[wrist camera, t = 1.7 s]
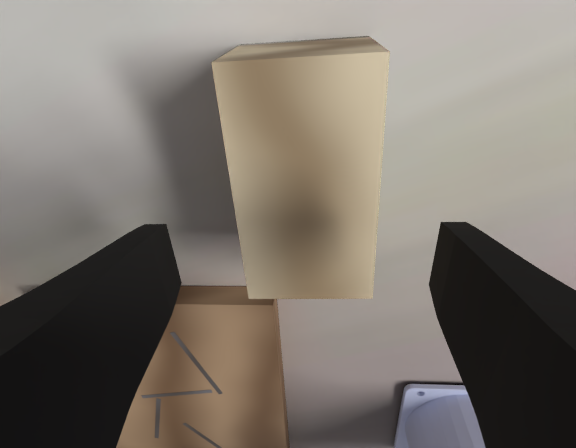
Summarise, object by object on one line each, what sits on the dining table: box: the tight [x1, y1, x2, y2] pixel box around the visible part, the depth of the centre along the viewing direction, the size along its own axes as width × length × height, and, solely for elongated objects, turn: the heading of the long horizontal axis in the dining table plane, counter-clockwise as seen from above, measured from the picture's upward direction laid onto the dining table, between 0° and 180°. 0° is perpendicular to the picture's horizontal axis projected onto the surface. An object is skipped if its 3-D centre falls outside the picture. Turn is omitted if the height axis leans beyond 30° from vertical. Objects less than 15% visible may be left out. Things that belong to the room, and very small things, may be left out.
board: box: [116, 286, 290, 448], centre depth 26 cm, size 14×20×2 cm
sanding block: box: [211, 36, 390, 299], centre depth 15 cm, size 5×9×5 cm, turn 4°
